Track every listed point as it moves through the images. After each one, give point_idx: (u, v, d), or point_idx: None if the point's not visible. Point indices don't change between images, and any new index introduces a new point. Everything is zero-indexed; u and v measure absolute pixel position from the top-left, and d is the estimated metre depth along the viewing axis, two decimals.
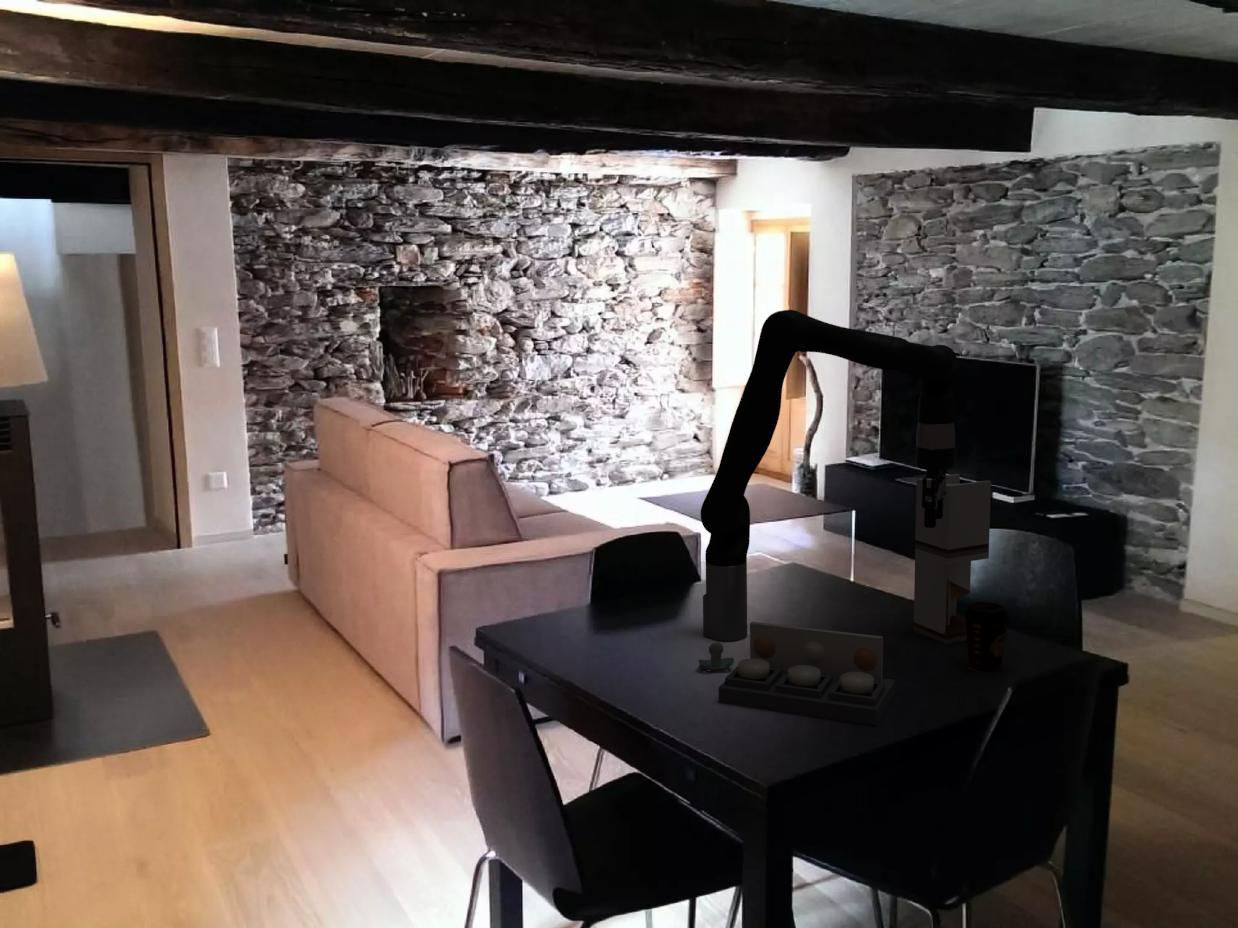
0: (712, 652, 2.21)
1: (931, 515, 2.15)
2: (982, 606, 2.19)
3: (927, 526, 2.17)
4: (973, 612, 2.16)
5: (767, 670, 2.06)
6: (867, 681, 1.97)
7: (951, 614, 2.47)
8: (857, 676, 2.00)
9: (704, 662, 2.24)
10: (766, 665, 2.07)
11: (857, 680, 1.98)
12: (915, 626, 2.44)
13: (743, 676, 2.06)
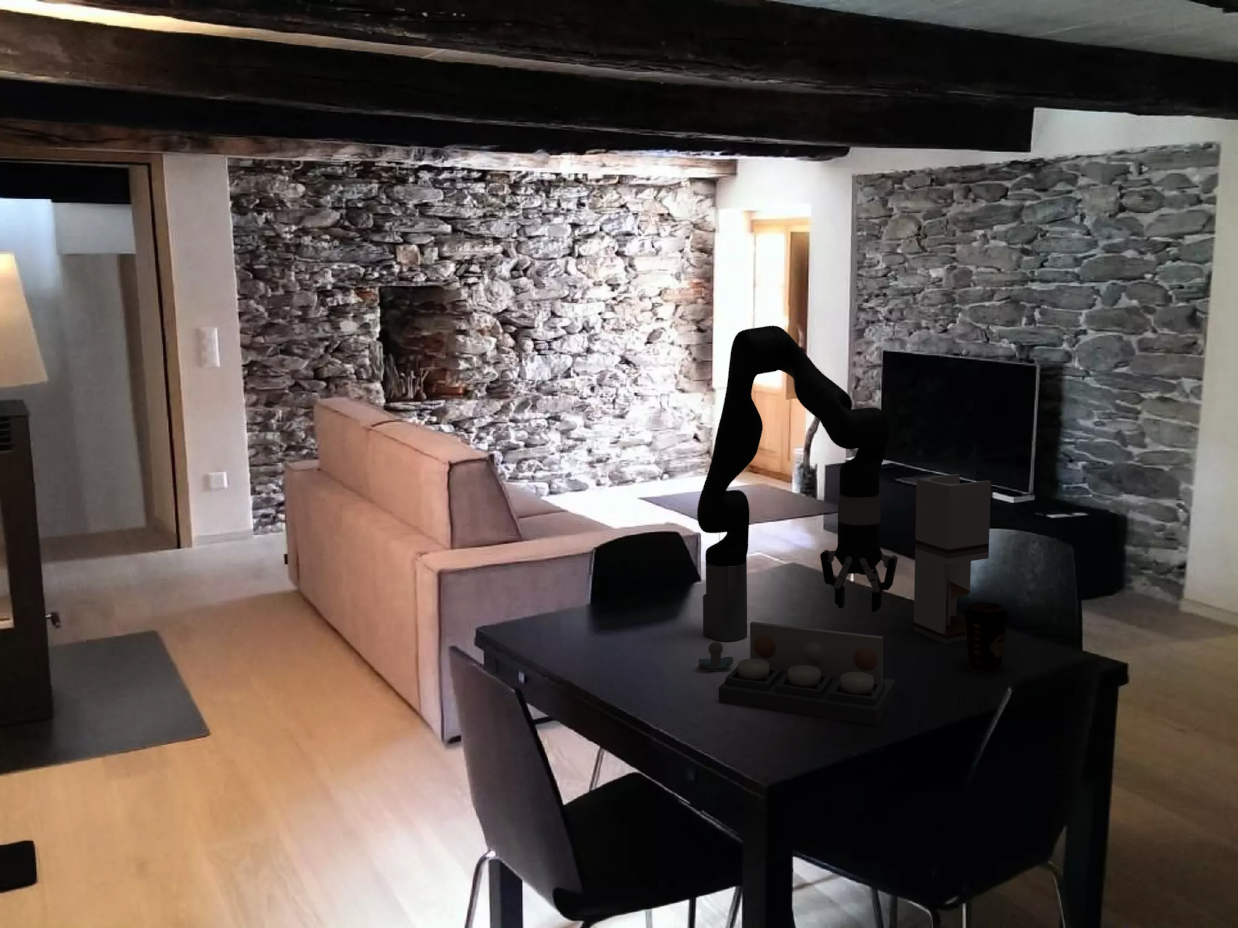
0: (712, 651, 2.22)
1: (881, 596, 1.95)
2: (982, 606, 2.19)
3: (876, 610, 1.95)
4: (973, 612, 2.16)
5: (767, 670, 2.06)
6: (867, 681, 1.97)
7: (951, 614, 2.47)
8: (857, 676, 2.00)
9: (704, 661, 2.24)
10: (766, 665, 2.07)
11: (857, 680, 1.98)
12: (915, 626, 2.44)
13: (743, 676, 2.06)
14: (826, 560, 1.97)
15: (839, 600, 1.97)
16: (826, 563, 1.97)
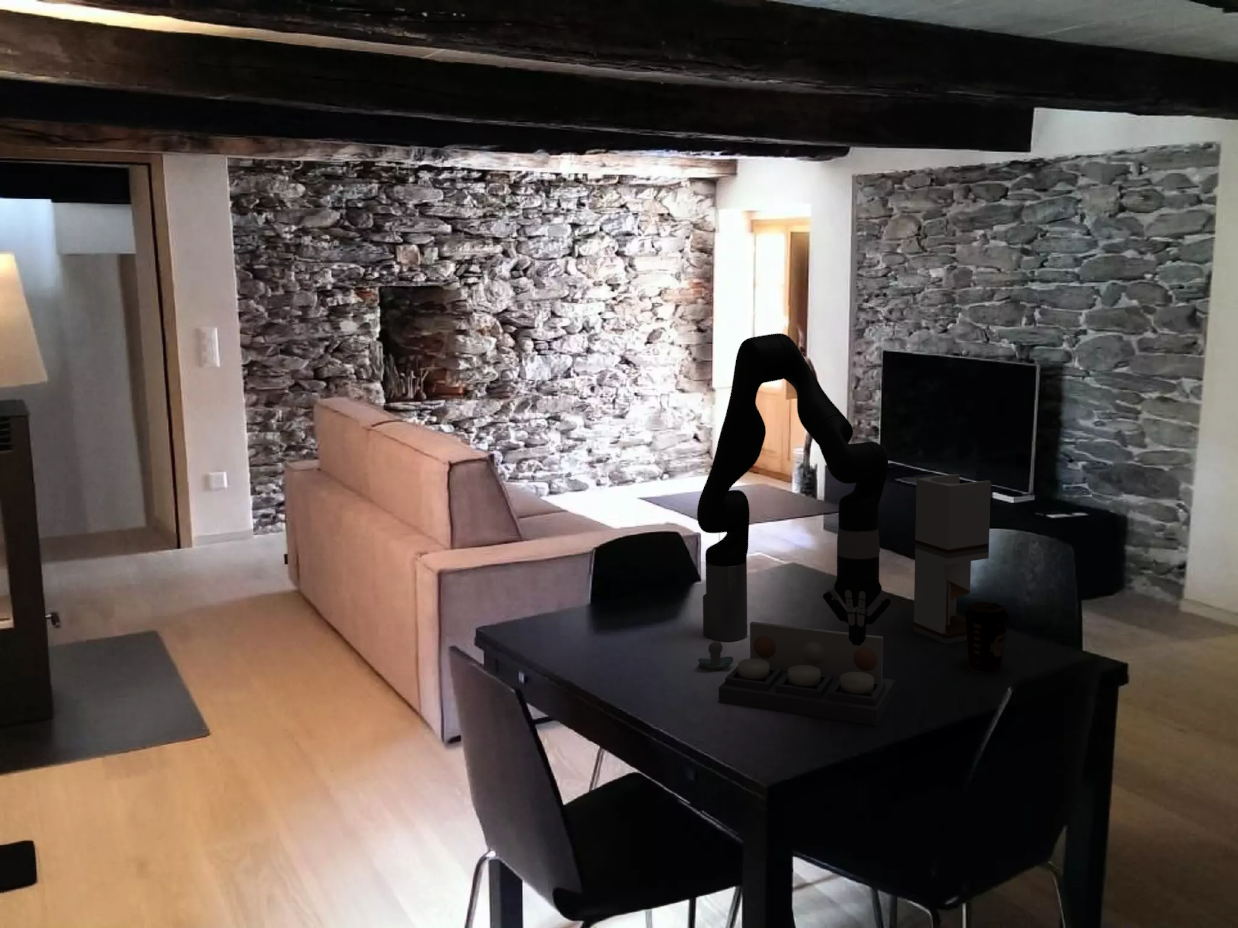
0: (711, 651, 2.22)
1: (865, 630, 1.98)
2: (982, 606, 2.19)
3: (860, 644, 1.97)
4: (973, 612, 2.16)
5: (767, 670, 2.06)
6: (867, 681, 1.97)
7: (951, 614, 2.47)
8: (857, 676, 2.00)
9: (703, 661, 2.24)
10: (766, 665, 2.07)
11: (857, 680, 1.98)
12: (915, 626, 2.44)
13: (743, 676, 2.06)
14: (830, 599, 1.98)
15: (853, 637, 1.97)
16: (832, 602, 1.98)
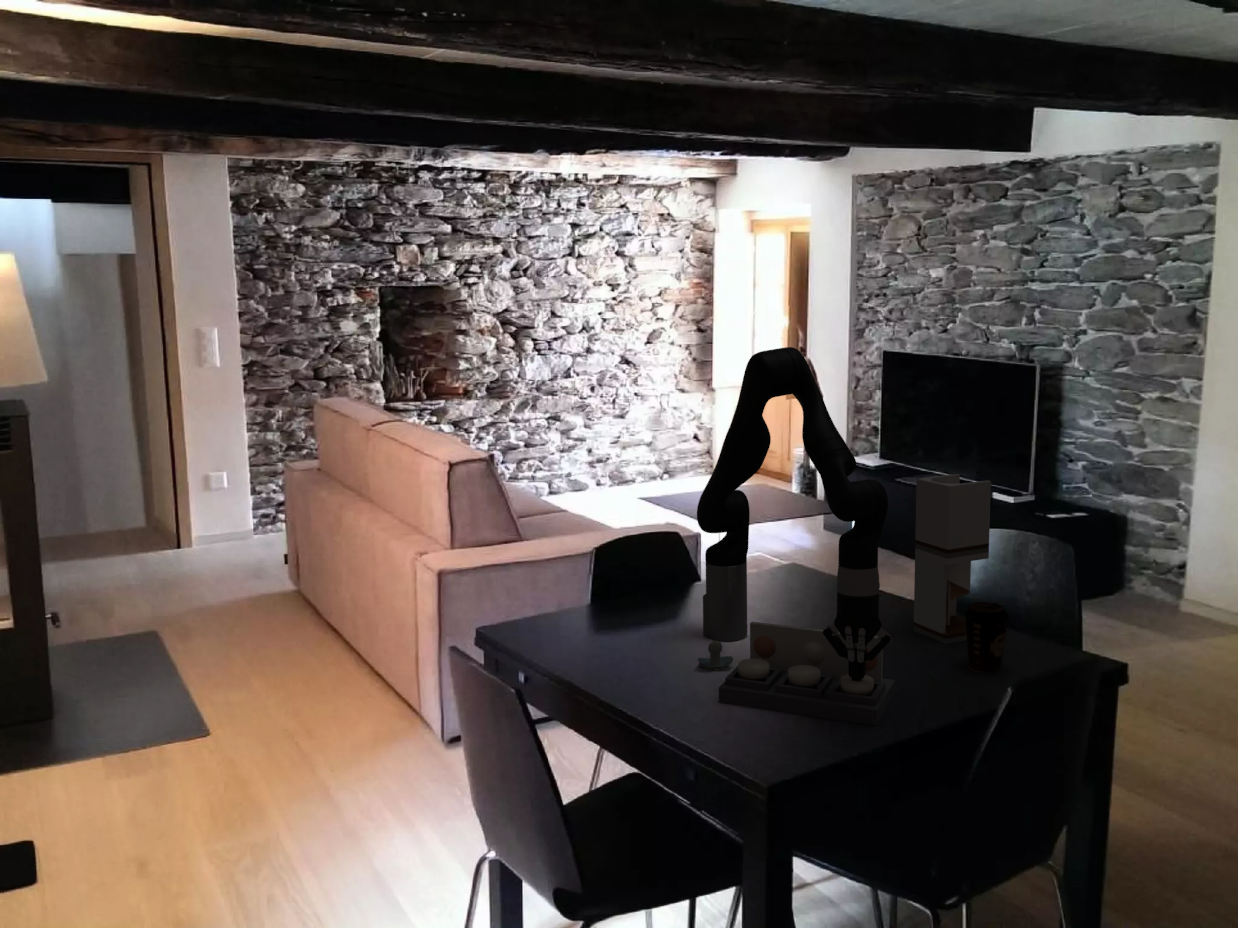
0: (711, 650, 2.22)
1: (865, 666, 1.99)
2: (982, 606, 2.19)
3: (860, 679, 1.99)
4: (973, 612, 2.16)
5: (767, 670, 2.06)
6: (867, 683, 1.97)
7: (951, 614, 2.47)
8: None
9: (703, 660, 2.25)
10: (766, 665, 2.07)
11: (857, 682, 1.98)
12: (915, 626, 2.44)
13: (743, 676, 2.06)
14: (830, 635, 1.99)
15: (853, 673, 1.98)
16: (832, 638, 1.99)
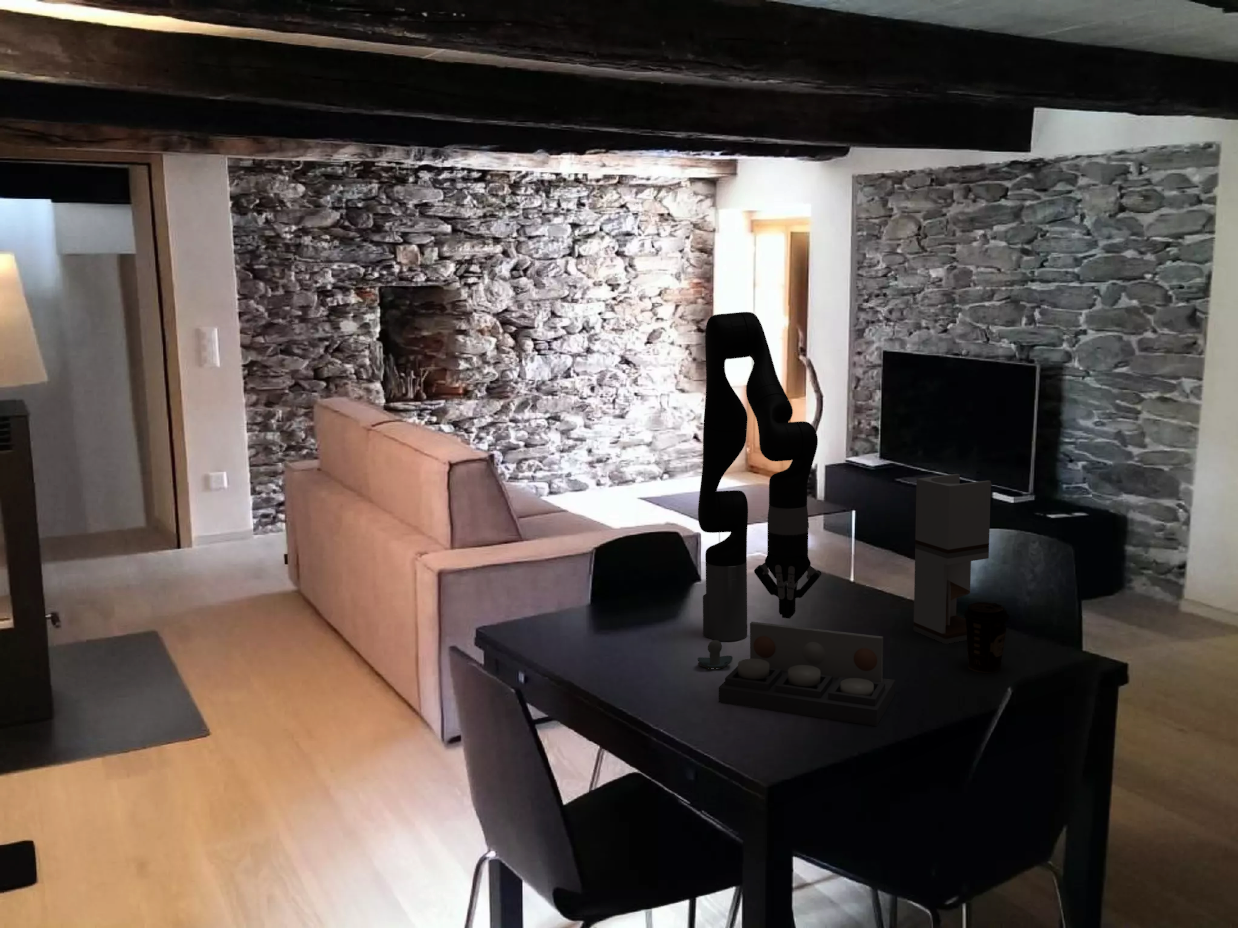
0: (711, 650, 2.23)
1: (794, 603, 2.04)
2: (982, 606, 2.19)
3: (790, 616, 2.04)
4: (973, 612, 2.16)
5: (767, 670, 2.06)
6: (867, 688, 1.97)
7: (951, 614, 2.47)
8: (857, 683, 2.00)
9: (703, 660, 2.25)
10: (766, 665, 2.07)
11: (857, 686, 1.98)
12: (915, 626, 2.44)
13: (743, 676, 2.06)
14: (761, 573, 2.04)
15: (783, 610, 2.03)
16: (763, 576, 2.04)
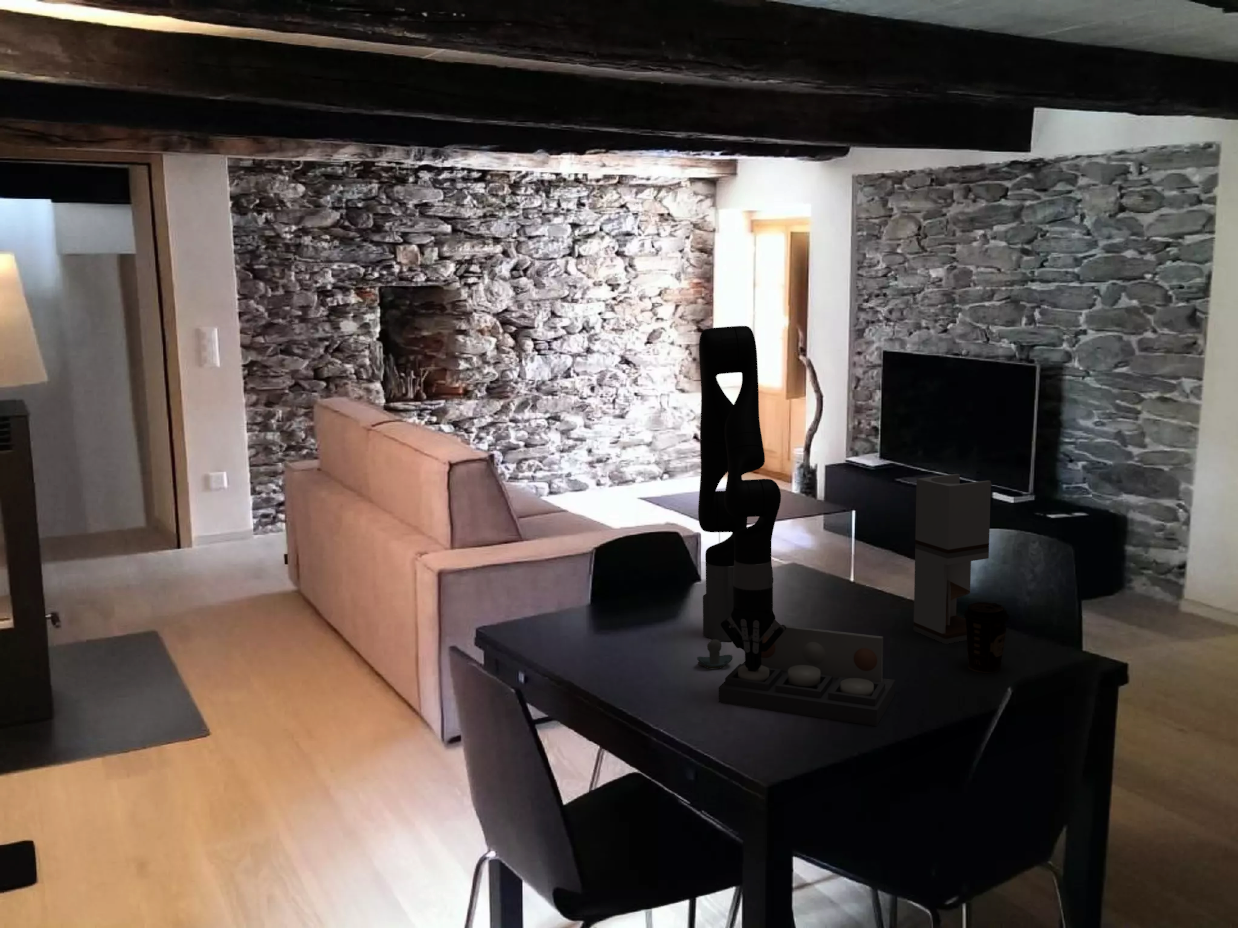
0: (710, 649, 2.23)
1: (760, 656, 2.07)
2: (982, 606, 2.19)
3: (756, 670, 2.07)
4: (973, 612, 2.16)
5: (767, 676, 2.07)
6: (867, 688, 1.97)
7: (951, 614, 2.47)
8: (857, 683, 2.00)
9: (703, 659, 2.25)
10: (766, 671, 2.07)
11: (857, 686, 1.98)
12: (915, 626, 2.44)
13: None
14: (728, 627, 2.08)
15: (749, 663, 2.07)
16: (729, 630, 2.08)
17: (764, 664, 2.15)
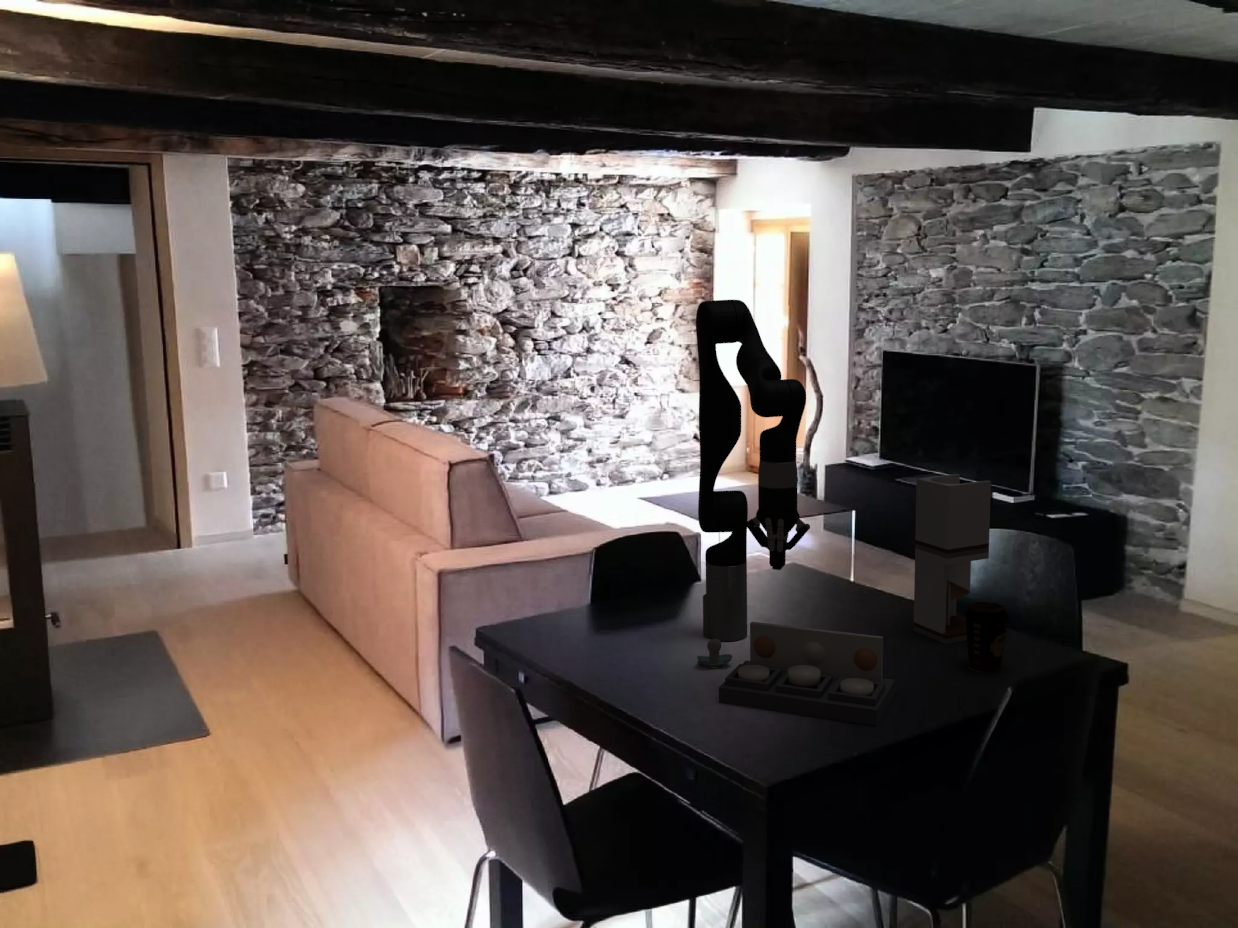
0: (710, 648, 2.24)
1: (784, 555, 2.11)
2: (982, 606, 2.19)
3: (780, 568, 2.11)
4: (973, 612, 2.16)
5: (767, 676, 2.07)
6: (867, 688, 1.97)
7: (951, 614, 2.47)
8: (857, 683, 2.00)
9: (702, 658, 2.26)
10: (766, 671, 2.07)
11: (857, 686, 1.98)
12: (915, 626, 2.44)
13: None
14: (752, 526, 2.11)
15: (773, 562, 2.11)
16: (754, 529, 2.11)
17: (764, 664, 2.15)
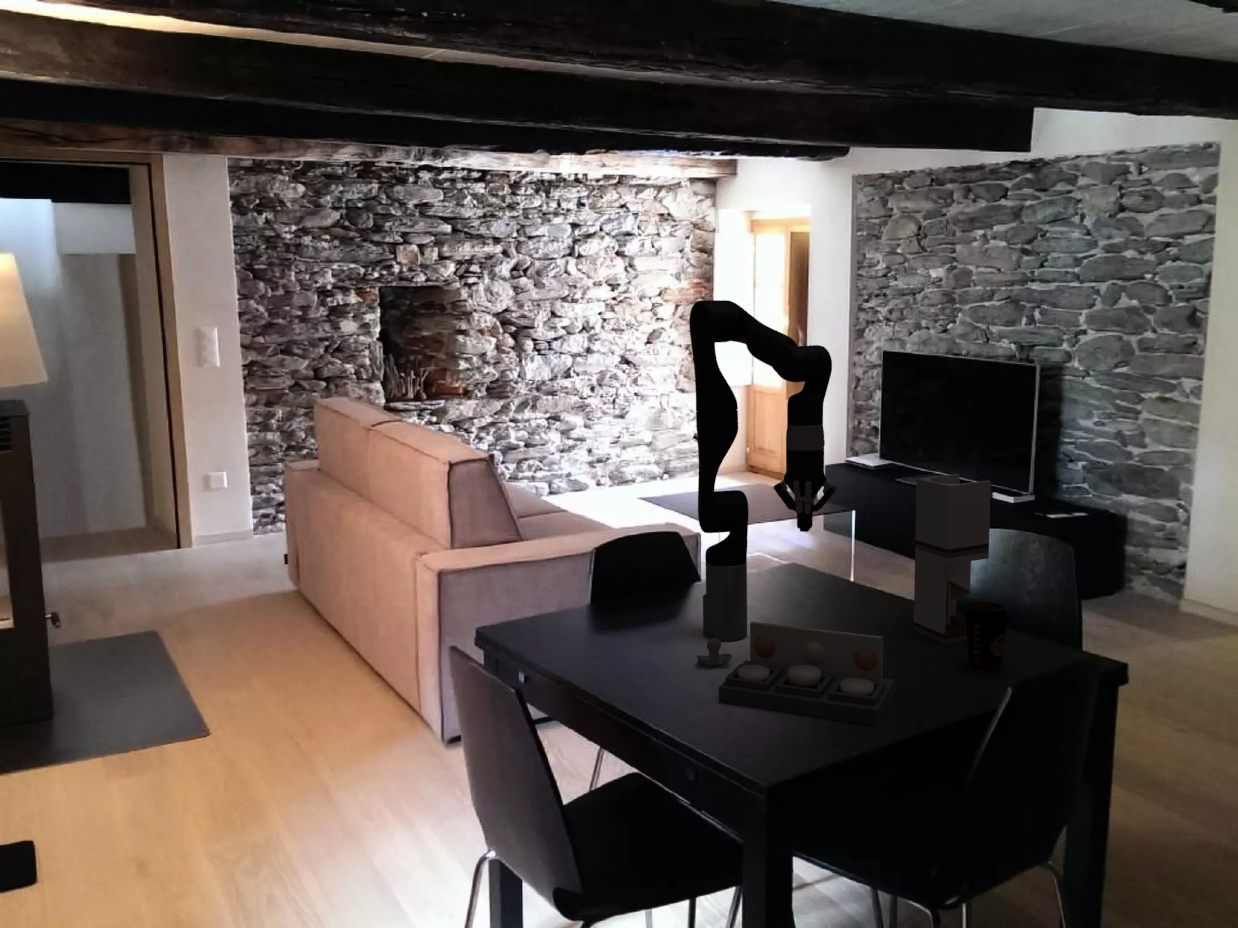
0: (710, 648, 2.24)
1: (812, 518, 2.17)
2: (982, 606, 2.19)
3: (807, 530, 2.17)
4: (973, 612, 2.16)
5: (767, 676, 2.07)
6: (867, 688, 1.97)
7: (951, 614, 2.47)
8: (857, 683, 2.00)
9: (702, 658, 2.26)
10: (766, 671, 2.07)
11: (857, 686, 1.98)
12: (915, 626, 2.44)
13: None
14: (780, 490, 2.18)
15: (801, 524, 2.17)
16: (782, 492, 2.18)
17: (764, 664, 2.15)
